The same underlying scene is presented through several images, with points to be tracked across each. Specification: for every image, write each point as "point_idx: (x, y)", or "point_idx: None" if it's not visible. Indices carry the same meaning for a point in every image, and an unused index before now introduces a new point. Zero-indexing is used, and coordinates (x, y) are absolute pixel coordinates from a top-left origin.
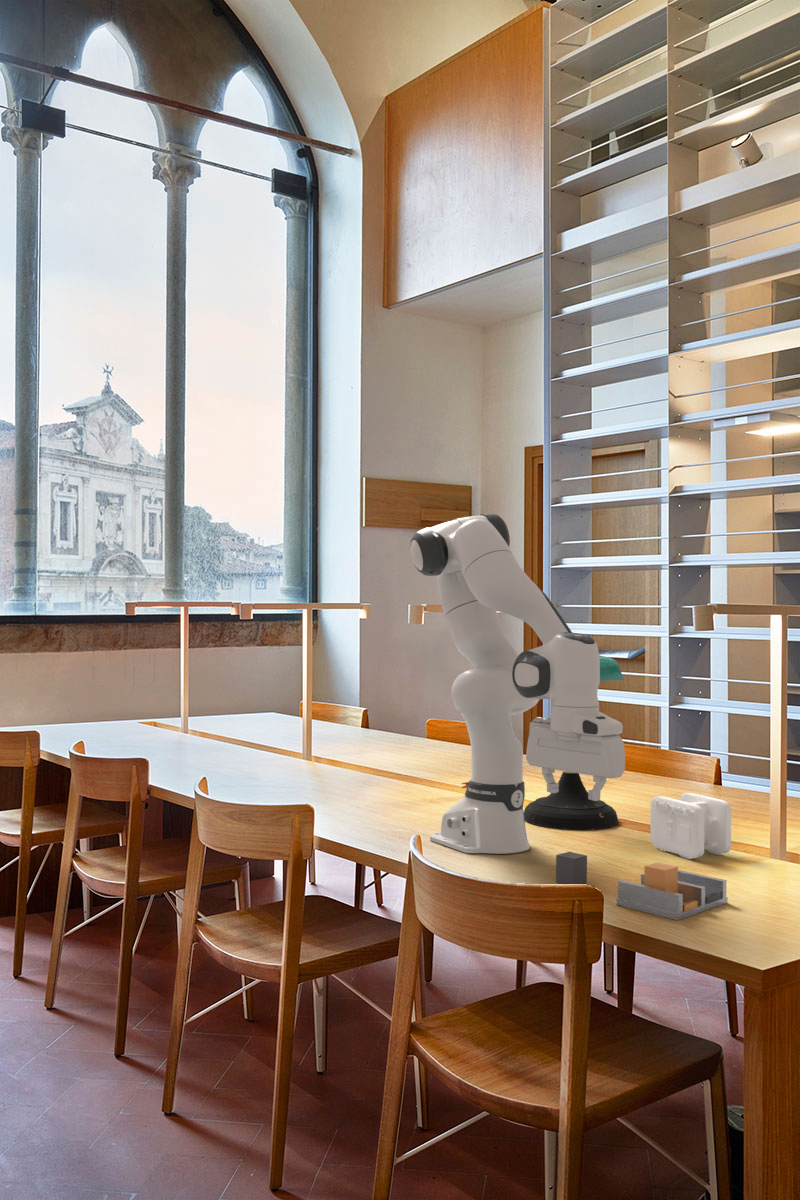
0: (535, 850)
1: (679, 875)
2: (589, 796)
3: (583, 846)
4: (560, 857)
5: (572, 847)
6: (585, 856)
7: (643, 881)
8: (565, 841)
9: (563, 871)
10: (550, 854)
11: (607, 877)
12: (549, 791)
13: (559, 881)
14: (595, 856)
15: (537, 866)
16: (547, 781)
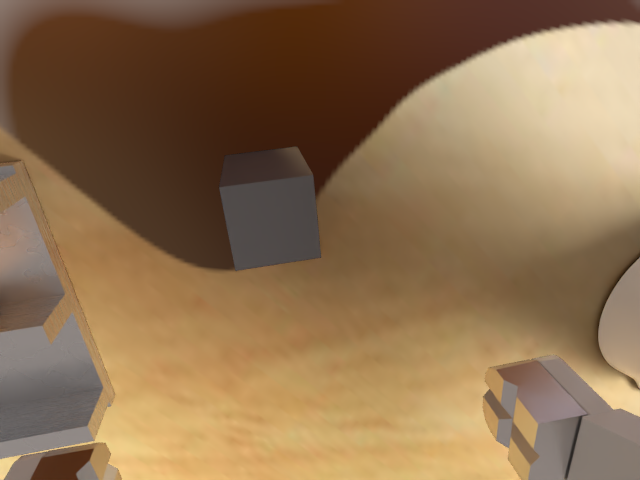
0: (584, 360)
1: (29, 428)
2: (71, 465)
3: None
4: (288, 175)
5: None
6: (233, 259)
7: (40, 314)
8: None
9: (270, 164)
10: None
11: (292, 343)
12: (530, 361)
13: (284, 153)
14: (448, 435)
15: (490, 265)
16: (617, 422)
